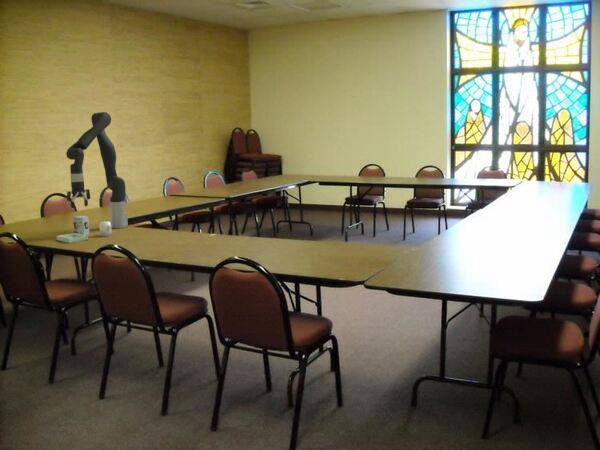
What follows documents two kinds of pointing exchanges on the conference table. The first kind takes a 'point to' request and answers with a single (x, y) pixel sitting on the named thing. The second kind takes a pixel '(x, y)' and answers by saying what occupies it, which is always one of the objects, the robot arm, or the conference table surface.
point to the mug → (105, 228)
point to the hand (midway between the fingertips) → (79, 207)
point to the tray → (72, 238)
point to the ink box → (81, 225)
